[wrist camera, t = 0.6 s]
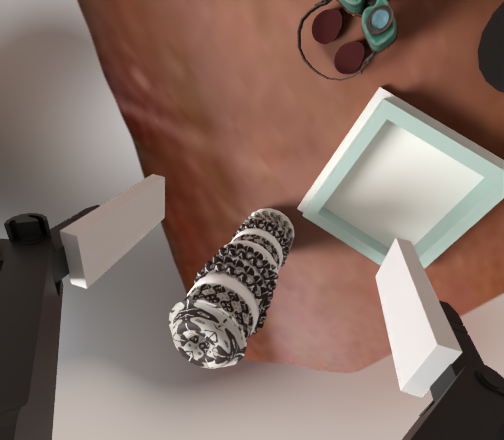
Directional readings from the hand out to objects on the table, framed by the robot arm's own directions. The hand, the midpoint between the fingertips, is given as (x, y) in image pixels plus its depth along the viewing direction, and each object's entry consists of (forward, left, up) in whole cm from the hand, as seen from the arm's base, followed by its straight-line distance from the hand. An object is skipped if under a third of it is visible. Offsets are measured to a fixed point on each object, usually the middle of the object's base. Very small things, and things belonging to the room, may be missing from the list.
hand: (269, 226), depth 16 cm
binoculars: (-12, -4, -27) cm, 30 cm away
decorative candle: (+16, +1, -27) cm, 31 cm away
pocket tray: (0, +12, -27) cm, 30 cm away
